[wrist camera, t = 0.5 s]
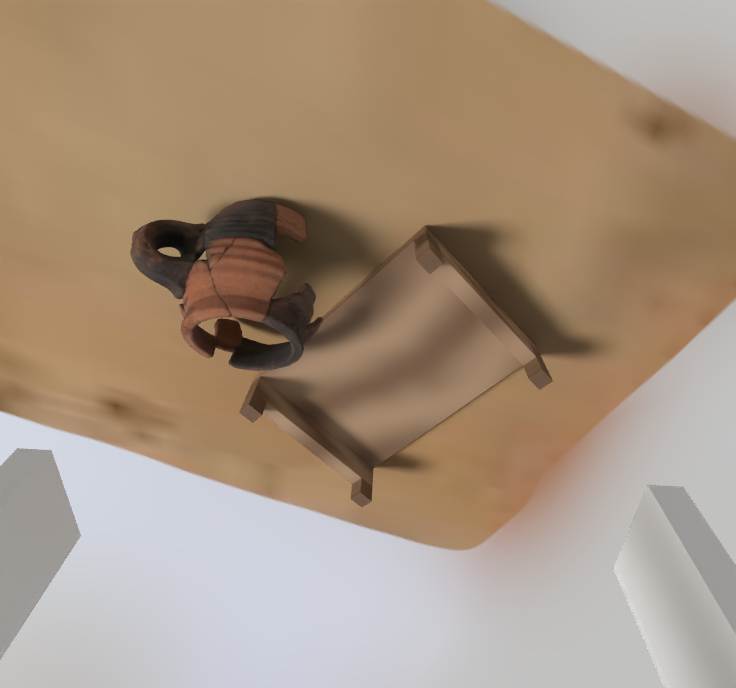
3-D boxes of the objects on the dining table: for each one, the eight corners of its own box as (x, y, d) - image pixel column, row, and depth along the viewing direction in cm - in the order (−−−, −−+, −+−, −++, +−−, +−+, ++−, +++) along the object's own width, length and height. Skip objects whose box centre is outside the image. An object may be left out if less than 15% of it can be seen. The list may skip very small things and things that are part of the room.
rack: (254, 376, 39) (239, 412, 35) (425, 225, 33) (429, 248, 29) (365, 466, 43) (361, 507, 39) (535, 346, 37) (552, 381, 33)
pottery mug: (354, 224, 33) (342, 332, 29) (300, 297, 40) (284, 392, 36) (161, 142, 29) (114, 255, 24) (141, 241, 36) (101, 341, 32)
